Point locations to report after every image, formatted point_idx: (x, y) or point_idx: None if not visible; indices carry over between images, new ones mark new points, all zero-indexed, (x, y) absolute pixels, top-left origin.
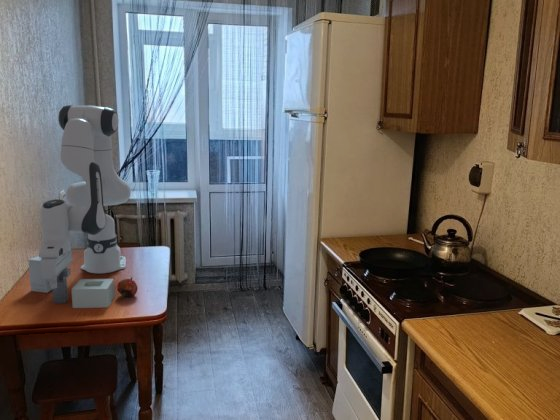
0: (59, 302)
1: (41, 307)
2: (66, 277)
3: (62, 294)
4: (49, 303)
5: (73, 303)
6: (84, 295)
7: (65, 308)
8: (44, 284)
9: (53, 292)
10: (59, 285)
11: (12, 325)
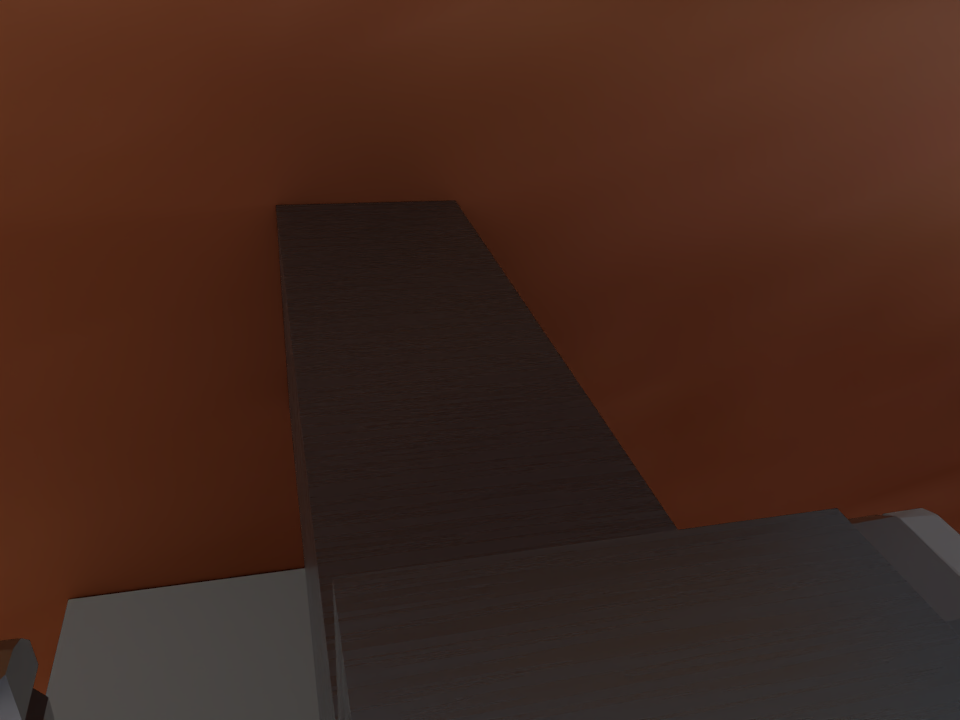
0: (284, 325)
1: (5, 4)
2: None
3: (298, 492)
4: (272, 115)
5: (53, 684)
6: None
7: (35, 503)
8: None
9: (291, 339)
10: (314, 634)
11: None
